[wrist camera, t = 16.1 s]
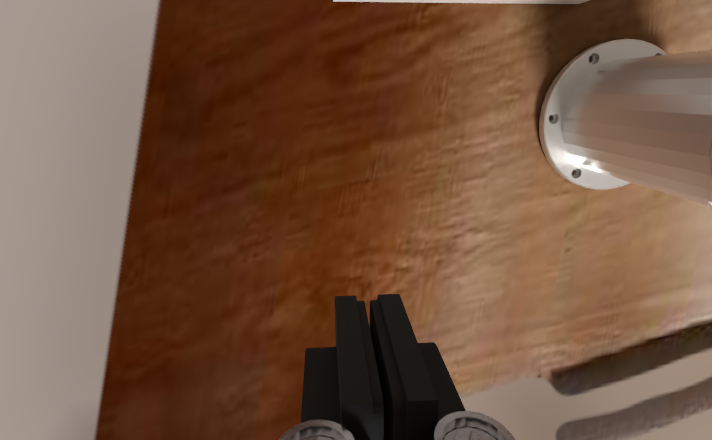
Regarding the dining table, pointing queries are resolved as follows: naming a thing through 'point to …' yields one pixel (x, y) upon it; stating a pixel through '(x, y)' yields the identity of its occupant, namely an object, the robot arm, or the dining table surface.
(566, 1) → the switch board
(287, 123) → the dining table surface
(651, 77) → the robot arm
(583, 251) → the dining table surface
